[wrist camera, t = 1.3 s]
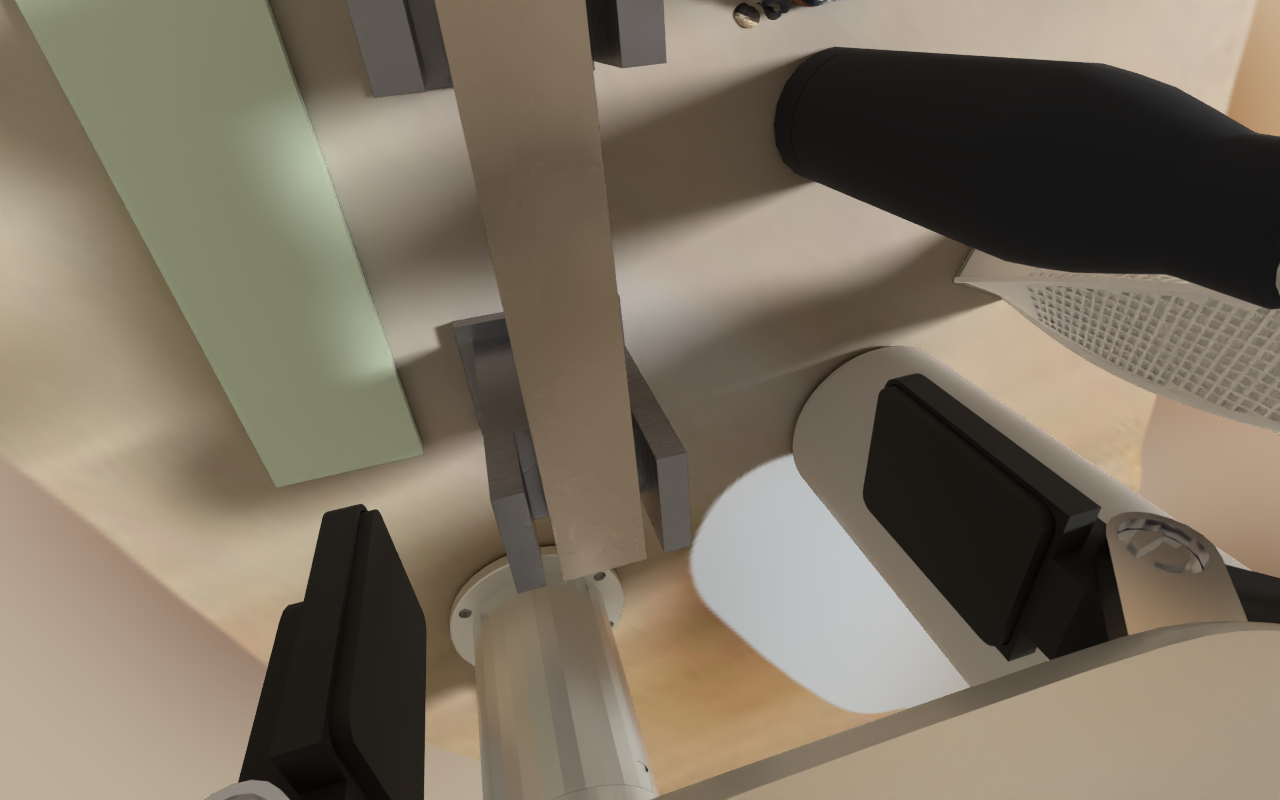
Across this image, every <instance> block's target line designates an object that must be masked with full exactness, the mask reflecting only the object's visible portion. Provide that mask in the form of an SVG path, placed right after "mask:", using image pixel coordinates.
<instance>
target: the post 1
mask: <svg viewBox="0 0 1280 800" xmlns="http://www.w3.org/2000/svg"><path fill="white" fill-rule="evenodd" d="M585 2H586V11H587V21H588V30H589V39H590V48H591V57H592V66H593V70H595V68H594V61H596V62H600V63H604V64H608V65H612V66H616V67H620V68H628V67H637V66H645V65H653V64H662V63H666V44H665V25H664V6H663V0H585ZM346 3H347V6H348V10H349V13H350V17H351V20H352V24H353V27H354V31H355V34H356V37H357V41H358V44H359V48H360V51H361V55H362V58H363V62H364V65H365V69H366V72H367V75H368V79H369V82H370V86H371V89H372V93H373V96H374V98H377V97H385V96H394V95H402V94H411V93H419V92H425V90H431V89H440V88H448V87H453V83H452V78H451V74H450V69H449V65H448V60H447V56H446V51H445V47H444V42H443V38H442V33H441V29H440V25H439V20H438V16H437V11H436V7H435V2H434V0H346Z"/></svg>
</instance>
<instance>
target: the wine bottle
mask: <svg viewBox="0 0 1280 800" xmlns="http://www.w3.org/2000/svg"><path fill="white" fill-rule="evenodd" d="M774 129H775V138H776V145H777V148H778V150H779V152H780V154H781V157H782V159H783V161H784V162H785V163H786V164H787V165H788V166H789V167H790V168H791V169H792V170H793V171H794V172H795V173H796V174H799V175H801V176H804V177H806V178H808V179H811V180H813V181H815V182H818V183H820V184H823V185H825V186H827V187H830V188H832V189H834V190H837V191H839V192H842V193H844V194H846V195H849V196H851V197H853V198H856V199H858V200H861V201H863V202H865V203H868V204H870V205H872V206H875V207H877V208H880V209H882V210H884V211H887V212H889V213H891V214H894V215H896V216H899V217H901V218H903V219H906V220H908V221H910V222H913V223H915V224H918V225H920V226H922V227H925V228H927V229H929V230H932V231H934V232H937V233H939V234H941V235H944V236H946V237H948V238H951V239H953V240H956V241H958V242H960V243H963V244H965V245H967V246H970V247H972V248H974V249H977V250H979V251H982V252H984V253H986V254H989V255H991V256H994V257H996V258H999V259H1001V260H1004V261H1007V262H1012V263H1017V264H1022V265H1027V266H1032V267H1037V268H1044V269H1050V270H1057V271H1064V272H1071V273H1101V274H1163V275H1170V276H1173V277H1176V278H1179V279H1182V280H1185V281H1188V282H1190V283H1193V284H1196V285H1199V286H1202V287H1205V288H1208V289H1211V290H1214V291H1217V292H1219V293H1222V294H1225V295H1228V296H1231V297H1234V298H1237V299H1240V300H1243V301H1245V302H1248V303H1251V304H1254V305H1257V306H1260V307H1263V308H1266V309H1271V310H1273V309H1280V137H1279V136H1272V135H1265V134H1258V133H1256V132H1253V131H1252V130H1250V129H1248V128H1246V127H1245V126H1243V125H1241V124H1240V123H1238V122H1236V121H1234V120H1233V119H1231V118H1229V117H1228V116H1226V115H1224V114H1223V113H1221V112H1219V111H1217V110H1216V109H1214V108H1212V107H1210V106H1209V105H1207V104H1205V103H1203V102H1201V101H1200V100H1198V99H1196V98H1194V97H1192V96H1191V95H1189V94H1187V93H1185V92H1183V91H1182V90H1180V89H1178V88H1176V87H1173V86H1171V85H1168V84H1165V83H1162V82H1160V81H1157V80H1154V79H1151V78H1149V77H1146V76H1143V75H1140V74H1137V73H1134V72H1131V71H1127V70H1124V69H1120V68H1117V67H1113V66H1110V65H1106V64H1100V63H1084V62H1068V61H1052V60H1036V59H1020V58H1004V57H988V56H972V55H956V54H940V53H924V52H908V51H892V50H876V49H860V48H844V47H833V48H830V49H827V50H824V51H821V52H818V53H816V54H814V55H813V56H812V57H810V58H809V59H808V60H806V61H805V62H804V63H802V64H801V65H800V66H799V67H798V68H797V70H796V71H795V72H794V74H793V75H792V76H791V78H790V79H789V80H788V82H787V83H786V85H785V87H784V89H783V92H782V94H781V97H780V99H779V101H778V104H777V109H776V116H775V122H774Z"/></svg>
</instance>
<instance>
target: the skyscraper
mask: <svg viewBox="0 0 1280 800" xmlns="http://www.w3.org/2000/svg"><path fill="white" fill-rule="evenodd" d="M953 282H955V283H958V284H961V285H964V286H967V287H970V288H973V289H976V290H979V291H982V292H985V293H988V294H991V295H994V296H997V297H1000V298H1002V299H1003V300H1004V301H1006V302H1007V303H1008V304H1009V305H1011V306H1012V307H1013V308H1014V309H1015V310H1017V311H1018V312H1019V313H1020V314H1021V315H1023V316H1024V317H1025V318H1026V319H1028V320H1029V321H1030V322H1032V323H1033V324H1034V325H1036V326H1037V327H1038V328H1040V329H1041V330H1042V331H1043V332H1045V333H1046V334H1048V335H1049V336H1050V337H1052V338H1053V339H1055V340H1056V341H1058V342H1059V343H1061V344H1062V345H1063V346H1065V347H1066V348H1068V349H1070V350H1071V351H1073V352H1074V353H1076V354H1078V355H1079V356H1081V357H1082V358H1084V359H1086V360H1087V361H1089V362H1091V363H1093V364H1094V365H1096V366H1098V367H1100V368H1102V369H1104V370H1105V371H1107V372H1109V373H1111V374H1113V375H1115V376H1117V377H1119V378H1121V379H1123V380H1125V381H1128V382H1130V383H1132V384H1134V385H1136V386H1138V387H1141V388H1143V389H1145V390H1148V391H1150V392H1153V393H1155V394H1157V395H1160V396H1162V397H1165V398H1167V399H1170V400H1172V401H1175V402H1178V403H1181V404H1184V405H1187V406H1189V407H1192V408H1195V409H1198V410H1201V411H1204V412H1207V413H1210V414H1214V415H1217V416H1221V417H1224V418H1227V419H1230V420H1234V421H1238V422H1241V423H1245V424H1248V425H1252V426H1257V427H1260V428H1264V429H1268V430H1271V431H1274V432H1275V433H1277V434H1278V435H1279V436H1280V309H1273V310H1271V309H1266V308H1263V307H1260V306H1257V305H1254V304H1251V303H1248V302H1245V301H1243V300H1240V299H1237V298H1234V297H1231V296H1228V295H1225V294H1222V293H1219V292H1217V291H1214V290H1211V289H1208V288H1205V287H1202V286H1199V285H1196V284H1193V283H1190V282H1188V281H1185V280H1182V279H1179V278H1176V277H1173V276H1170V275H1163V274H1101V273H1071V272H1064V271H1057V270H1050V269H1044V268H1037V267H1032V266H1027V265H1022V264H1017V263H1012V262H1007V261H1004V260H1001V259H999V258H996V257H994V256H991V255H989V254H986V253H984V252H982V251H979V250H977V249H974V248H972V249H971V250H970V252H969V254H968V256H967V257H966V259H965V261H964V262H963V264H962V266H961V268H960V269H959V271H958V273H957V274H956V276H955V278H954V280H953Z"/></svg>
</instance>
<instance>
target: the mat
mask: <svg viewBox="0 0 1280 800" xmlns="http://www.w3.org/2000/svg"><path fill="white" fill-rule="evenodd" d="M15 2H16V3H17V5H18V7H19V9H20V11H21V13H22V15H23V16H24V18H25V20H26V22H27V24H28V26H29V28H30V30H31V31H32V33H33V35H34V37H35V39H36V41H37V43H38V44H39V46H40V48H41V50H42V52H43V54H44V56H45V57H46V59H47V61H48V63H49V65H50V67H51V69H52V71H53V72H54V74H55V76H56V78H57V80H58V82H59V84H60V85H61V87H62V89H63V91H64V93H65V95H66V97H67V98H68V100H69V102H70V104H71V106H72V108H73V110H74V112H75V113H76V115H77V117H78V119H79V121H80V123H81V125H82V126H83V128H84V130H85V132H86V134H87V136H88V138H89V139H90V141H91V143H92V145H93V147H94V149H95V151H96V153H97V154H98V156H99V158H100V160H101V162H102V164H103V166H104V167H105V169H106V171H107V173H108V175H109V177H110V179H111V180H112V182H113V184H114V186H115V188H116V190H117V192H118V194H119V195H120V197H121V199H122V201H123V203H124V205H125V207H126V208H127V210H128V212H129V214H130V216H131V218H132V220H133V221H134V223H135V225H136V227H137V229H138V231H139V233H140V235H141V236H142V238H143V240H144V242H145V244H146V246H147V248H148V249H149V251H150V253H151V255H152V257H153V259H154V261H155V262H156V264H157V266H158V268H159V270H160V272H161V274H162V276H163V277H164V279H165V281H166V283H167V285H168V287H169V289H170V290H171V292H172V294H173V296H174V298H175V300H176V302H177V303H178V305H179V307H180V309H181V311H182V313H183V315H184V317H185V318H186V320H187V322H188V324H189V326H190V328H191V330H192V331H193V333H194V335H195V337H196V339H197V341H198V343H199V344H200V346H201V348H202V350H203V352H204V354H205V356H206V358H207V359H208V361H209V363H210V365H211V367H212V369H213V371H214V372H215V374H216V376H217V378H218V380H219V382H220V384H221V385H222V387H223V389H224V391H225V393H226V395H227V397H228V399H229V400H230V402H231V404H232V406H233V408H234V410H235V412H236V413H237V415H238V417H239V419H240V421H241V423H242V425H243V426H244V428H245V430H246V432H247V434H248V436H249V438H250V440H251V441H252V443H253V445H254V447H255V449H256V451H257V453H258V454H259V456H260V458H261V460H262V462H263V464H264V466H265V468H266V469H267V471H268V473H269V475H270V477H271V479H272V481H273V482H274V484H275V486H276V488H278V487H283V486H287V485H291V484H296V483H300V482H305V481H309V480H314V479H318V478H322V477H327V476H331V475H336V474H340V473H344V472H349V471H353V470H358V469H362V468H366V467H371V466H375V465H380V464H384V463H389V462H393V461H397V460H402V459H406V458H411V457H415V456H419V455H424V447H423V444H422V442H421V439H420V436H419V433H418V430H417V427H416V424H415V421H414V418H413V416H412V413H411V410H410V407H409V404H408V401H407V398H406V395H405V393H404V390H403V387H402V384H401V381H400V378H399V375H398V372H397V370H396V367H395V364H394V361H393V358H392V355H391V352H390V349H389V346H388V344H387V341H386V338H385V335H384V332H383V329H382V326H381V323H380V321H379V318H378V315H377V312H376V309H375V306H374V303H373V300H372V298H371V295H370V292H369V289H368V286H367V283H366V280H365V277H364V274H363V272H362V269H361V266H360V263H359V260H358V257H357V254H356V251H355V249H354V246H353V243H352V240H351V237H350V234H349V231H348V228H347V226H346V223H345V220H344V217H343V214H342V211H341V208H340V205H339V202H338V200H337V197H336V194H335V191H334V188H333V185H332V182H331V179H330V177H329V174H328V171H327V168H326V165H325V162H324V159H323V156H322V154H321V151H320V148H319V145H318V142H317V139H316V136H315V133H314V130H313V128H312V125H311V122H310V119H309V116H308V113H307V110H306V107H305V105H304V102H303V99H302V96H301V93H300V90H299V87H298V84H297V82H296V79H295V76H294V73H293V70H292V67H291V64H290V61H289V58H288V56H287V53H286V50H285V47H284V44H283V41H282V38H281V35H280V33H279V30H278V27H277V24H276V21H275V18H274V15H273V12H272V10H271V7H270V4H269V1H268V0H15Z"/></svg>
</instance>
